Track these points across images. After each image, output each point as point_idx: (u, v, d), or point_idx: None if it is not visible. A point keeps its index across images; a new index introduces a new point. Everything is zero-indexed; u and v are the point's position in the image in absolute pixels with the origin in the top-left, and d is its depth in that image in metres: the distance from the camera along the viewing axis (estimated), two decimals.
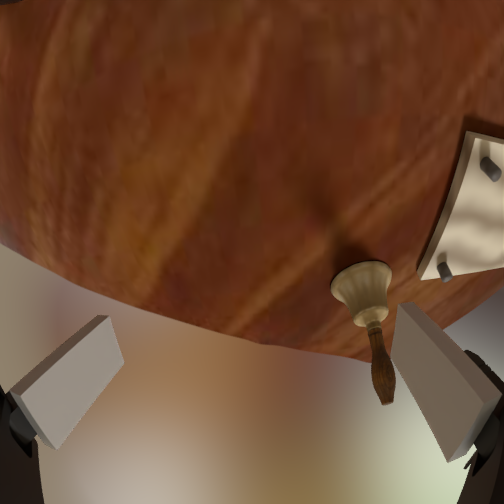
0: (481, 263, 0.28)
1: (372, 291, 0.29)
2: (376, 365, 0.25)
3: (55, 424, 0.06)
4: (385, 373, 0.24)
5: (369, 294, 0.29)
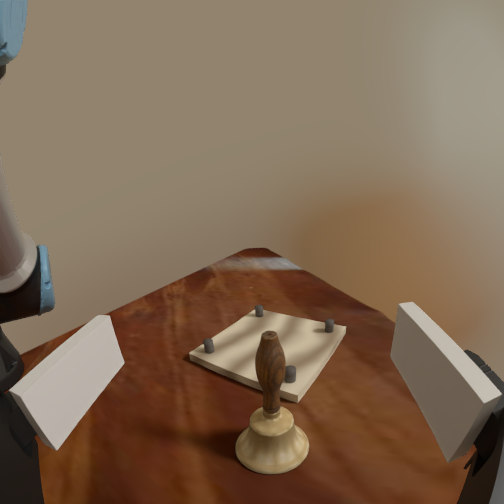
0: (318, 350, 0.41)
1: None
2: (258, 378, 0.22)
3: (55, 424, 0.06)
4: None
5: None
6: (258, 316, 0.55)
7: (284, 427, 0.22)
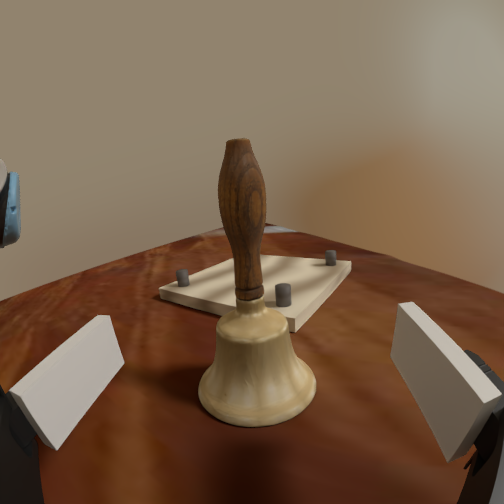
0: (319, 278, 0.34)
1: None
2: None
3: (55, 424, 0.06)
4: None
5: None
6: None
7: (272, 328, 0.15)
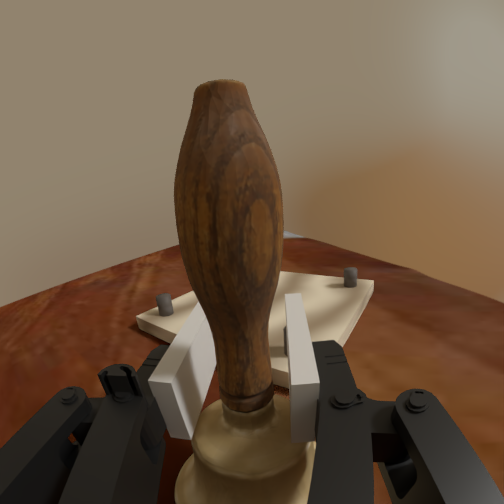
0: (339, 308, 0.26)
1: None
2: None
3: (191, 410, 0.08)
4: None
5: None
6: None
7: (287, 453, 0.07)
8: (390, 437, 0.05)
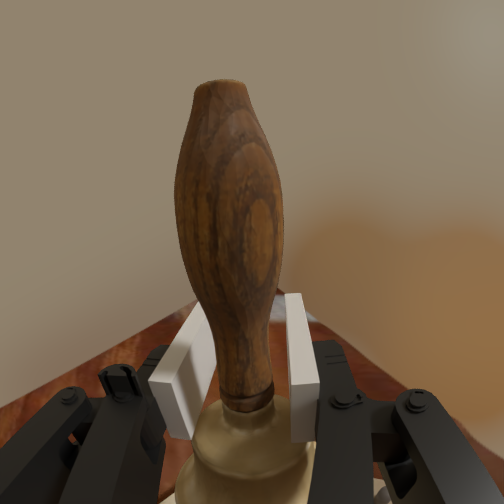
0: None
1: None
2: None
3: (191, 410, 0.08)
4: None
5: None
6: None
7: (287, 453, 0.07)
8: (390, 437, 0.05)
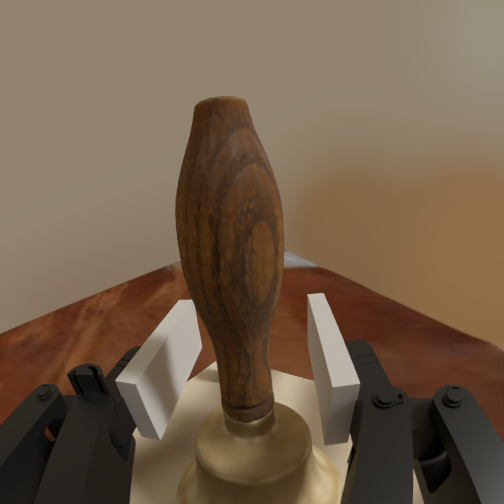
0: None
1: None
2: None
3: (160, 411, 0.08)
4: None
5: None
6: None
7: (287, 459, 0.07)
8: (427, 431, 0.05)
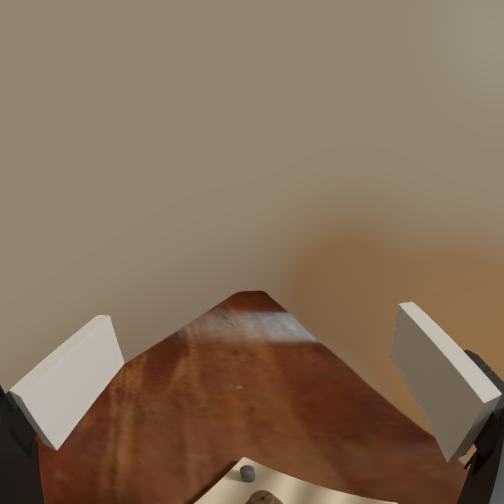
0: None
1: None
2: None
3: (55, 424, 0.06)
4: None
5: None
6: (246, 481, 0.23)
7: None
8: None
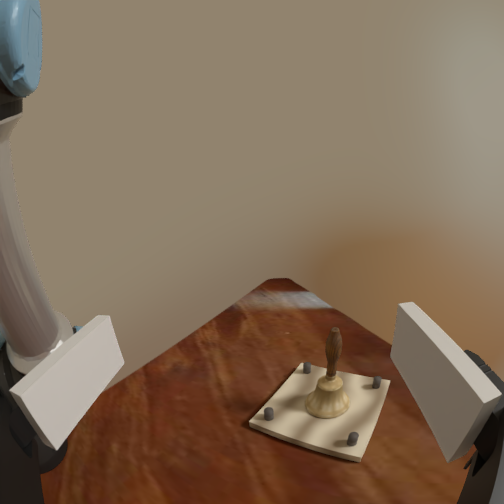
0: (370, 409, 0.39)
1: (316, 387, 0.43)
2: (327, 354, 0.40)
3: (55, 424, 0.06)
4: None
5: None
6: (306, 373, 0.52)
7: (338, 385, 0.40)
8: None
